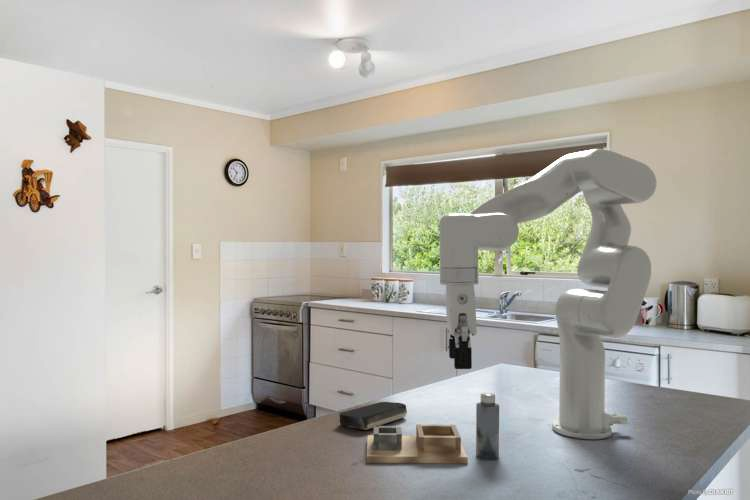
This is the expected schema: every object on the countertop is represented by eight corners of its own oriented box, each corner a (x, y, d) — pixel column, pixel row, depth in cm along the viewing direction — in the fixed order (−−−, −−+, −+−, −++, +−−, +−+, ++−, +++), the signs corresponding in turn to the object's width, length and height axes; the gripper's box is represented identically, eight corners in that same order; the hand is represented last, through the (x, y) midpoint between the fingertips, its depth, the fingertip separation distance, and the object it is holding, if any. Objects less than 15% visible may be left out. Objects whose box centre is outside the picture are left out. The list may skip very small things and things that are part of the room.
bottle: (496, 452, 114) (496, 392, 114) (501, 460, 110) (501, 397, 110) (474, 452, 114) (474, 391, 114) (478, 460, 110) (478, 397, 110)
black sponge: (362, 435, 125) (362, 418, 125) (335, 426, 131) (335, 410, 131) (410, 419, 137) (410, 404, 137) (383, 412, 142) (384, 397, 142)
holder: (458, 441, 120) (458, 421, 120) (467, 463, 108) (467, 441, 108) (367, 441, 120) (367, 421, 120) (366, 462, 108) (366, 440, 108)
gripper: (485, 279, 104) (486, 373, 105) (472, 274, 122) (472, 354, 122) (443, 279, 105) (444, 373, 105) (436, 274, 122) (437, 354, 122)
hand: (459, 363), depth 113 cm, fingers open, 9 cm apart
